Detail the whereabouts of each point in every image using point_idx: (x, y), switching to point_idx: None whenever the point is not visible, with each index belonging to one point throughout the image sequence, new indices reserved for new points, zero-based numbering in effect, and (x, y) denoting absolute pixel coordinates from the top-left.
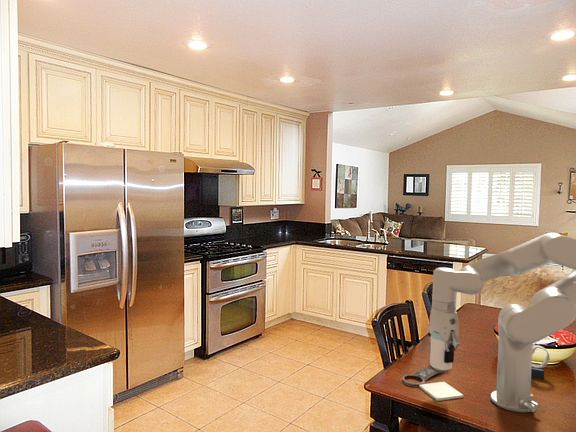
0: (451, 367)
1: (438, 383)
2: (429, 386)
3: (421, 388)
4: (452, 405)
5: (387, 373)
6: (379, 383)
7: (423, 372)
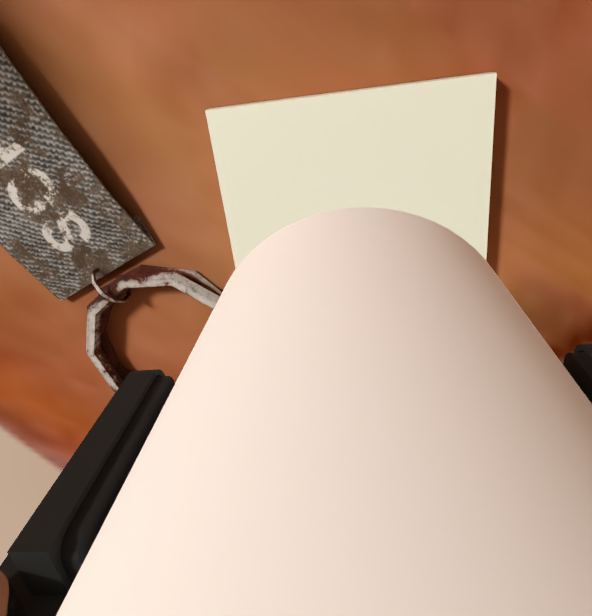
0: (496, 274)
1: (240, 188)
2: None
3: None
4: (573, 249)
5: (45, 433)
6: None
7: (22, 209)
